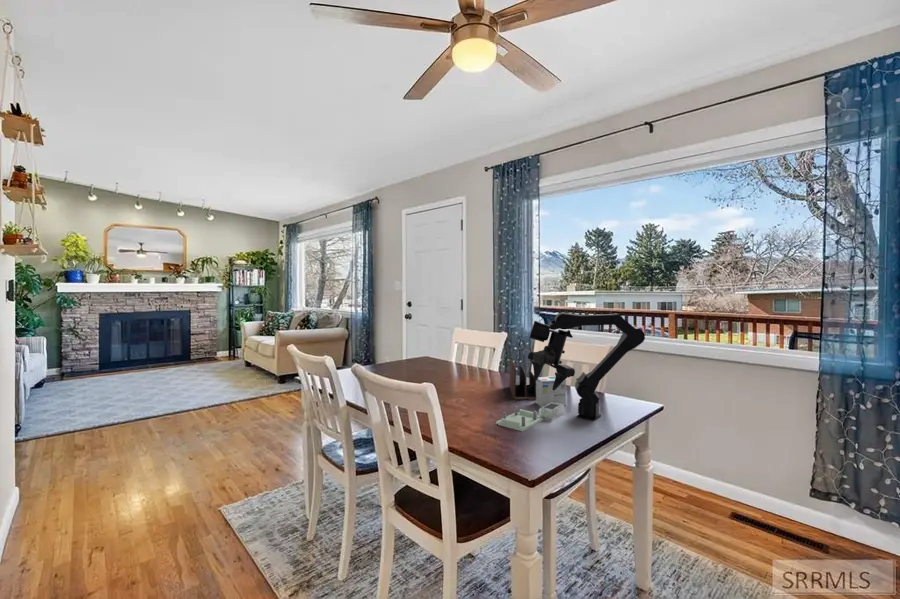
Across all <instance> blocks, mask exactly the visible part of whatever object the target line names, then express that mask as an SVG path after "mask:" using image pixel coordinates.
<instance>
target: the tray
mask: <svg viewBox="0 0 900 599" xmlns="http://www.w3.org/2000/svg"><path fill="white" fill-rule="evenodd" d="M518 409H519V408H518V406H517V405H515V406H514V409H513V410H514V411H513V413H511V414H509V415H507V412H506V411H502V418H500V419H499V420H497V421H496V422H495V425H497V424H498V426H502V427H505V428H508V429H512V430H516V431H520V432H525V431H526V430H528V429H530V428H531V427H533V426H535V425H537V424H539V423H540V422H542V421H544V419H543V418H541V417H539V416H538V413H537V410H532V411H530V410H525V409H523V408H522V409H521V408H520V409H519V412H518Z"/></svg>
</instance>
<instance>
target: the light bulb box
mask: <svg viewBox="0 0 900 599" xmlns="http://www.w3.org/2000/svg"><path fill="white" fill-rule="evenodd" d="M555 378H556V376H555V375H553V376H541V377H540V376H539V377H538V379H537V381H536V400H535V403H536V404H539V405H538V406H539V407H540V408H541V407H543V406H545V405H547V404H549V403H550V402H555V403H560V404H564V407H565V406H567V378H566V379H565V380H564V381H563V382H562V383H561V384H560V385H559V386H558V387H557V389H556V390H552V389H553V385H554V381H555Z"/></svg>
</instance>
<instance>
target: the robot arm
mask: <svg viewBox="0 0 900 599" xmlns="http://www.w3.org/2000/svg"><path fill="white" fill-rule="evenodd" d="M582 326H583V327H584V326H585V327H586V326H615V327H616V328H617V329H618V330H619V331H621V332H622V333H621V335H620V337H619V340H618V341H617V344H616V345H615V346H614V347H613V348H612V349H611V350H610V351H609V352H608V353H607V354H606V355H605V357H603V358H602V360H600V362H599V363H598V364H597V365H595V367H594V368H593V369H592V370H591V371H589V372H588V373H585V372H584V371H583V372H582V373H581V374H580V376H579V377H578V378H576V379H575V380H576V381H575V383H574V389H575V390H576V393H577V395H578V397H580V399H579V402H578V404H577V417H578V418H582V419H586V420H591V421H596V420H597V419H598V418H601V416H602V415H601V414H600V397H599V395H598V394H597V392H596V390H597V388H598V386H599V383H600V382H601V380H602V379H603V378H604V377H605V376H606V375H607V374H608V373H609V372H610V371H611V370H612V368H614V367H615V365H616V364H617V363H618V362H619V361H621V359H622V358H623V357H624V356H625V355H626V354H627V353H628V352H631V351H632V350H634V349H636V348H637V347H638V346H640V345H641V344H642V343H644V341H645V340H646V334H645V332H644V331H643V330H642V329H640V328H638V327H636V326H633V325H632V324H630V322H628V321H627V320H626V319H625V318H623V316H622V315H621V314H619V313H616V312H615V313H605V314H604V313H603V314H601V313H600V314H577V313H572V312H571V313H570V312H559V313H557V314H556V315H555V317H554V319H553V320H552V321H551V322H549V323H548V324H546V323H542V322H539V321H537V320H534V321H533V324H532V326H531V329H530V333H529V337H528V338H529V339H532V340H535V341H539V342H542V343H544V342H546V341H548V343H547V345H545V346H544V348H543V349H541V350H538V351H530V352H529V353H528V355H527V359H529V363H531V365H532V366H533V368H532V369H533V375H534V380H535V381H537V379H538V377H540V375H541V373H542V370H543V368H544V365H547V366H550V367H551V368H553V369H555V370H556V372H554V376H556V378H555V381H554V385H553V389H552V390H556V389H557V387H558V386H559V385H560V384H561V383H562V382H563V381H564V380H565V379H566V380H567V378H571V377H575V373H576V370H575V368H573V367H572V366H570V365H566V364H562V363H563V361H562V360H561V358H562V355H563V354H565V352H566V351H565V350H564V347H565V345H566V341H567V338H570V339H571V338H573V335H572V333H571V330H570V329H574V328H577V327H582Z"/></svg>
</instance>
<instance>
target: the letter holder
mask: <svg viewBox="0 0 900 599" xmlns="http://www.w3.org/2000/svg"><path fill="white" fill-rule="evenodd" d="M509 363H510V364H509V379H508V380H509V381H508V382H509V386H508V387H509V389H510V392H511V396H512V398H513V400H520V399H536V381H535V380H534V372H532V371H531V370H529V371H528V384H527V375H526V372H525V370H524V368H523V366H522V365H520V366H519V370H518V371H519V373H518V374H519V383H518V384H516V383H517V367H516V364H515V362H514V361H513V359H510V361H509Z"/></svg>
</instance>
